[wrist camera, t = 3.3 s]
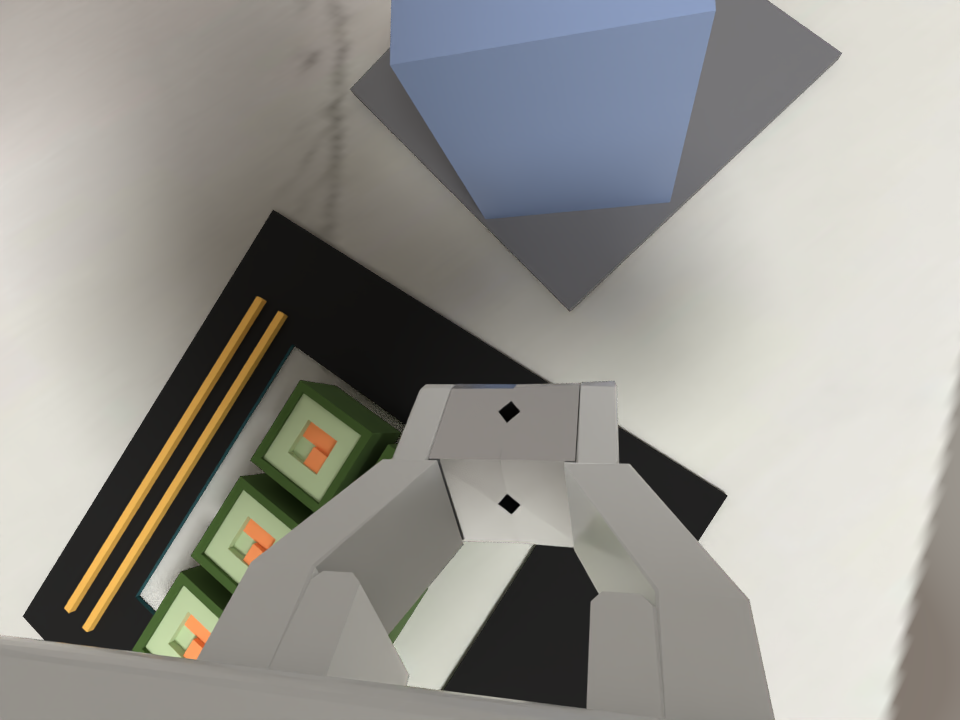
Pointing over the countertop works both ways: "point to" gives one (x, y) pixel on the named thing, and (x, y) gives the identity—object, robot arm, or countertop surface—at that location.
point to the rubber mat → (707, 149)
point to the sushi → (312, 470)
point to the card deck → (555, 95)
